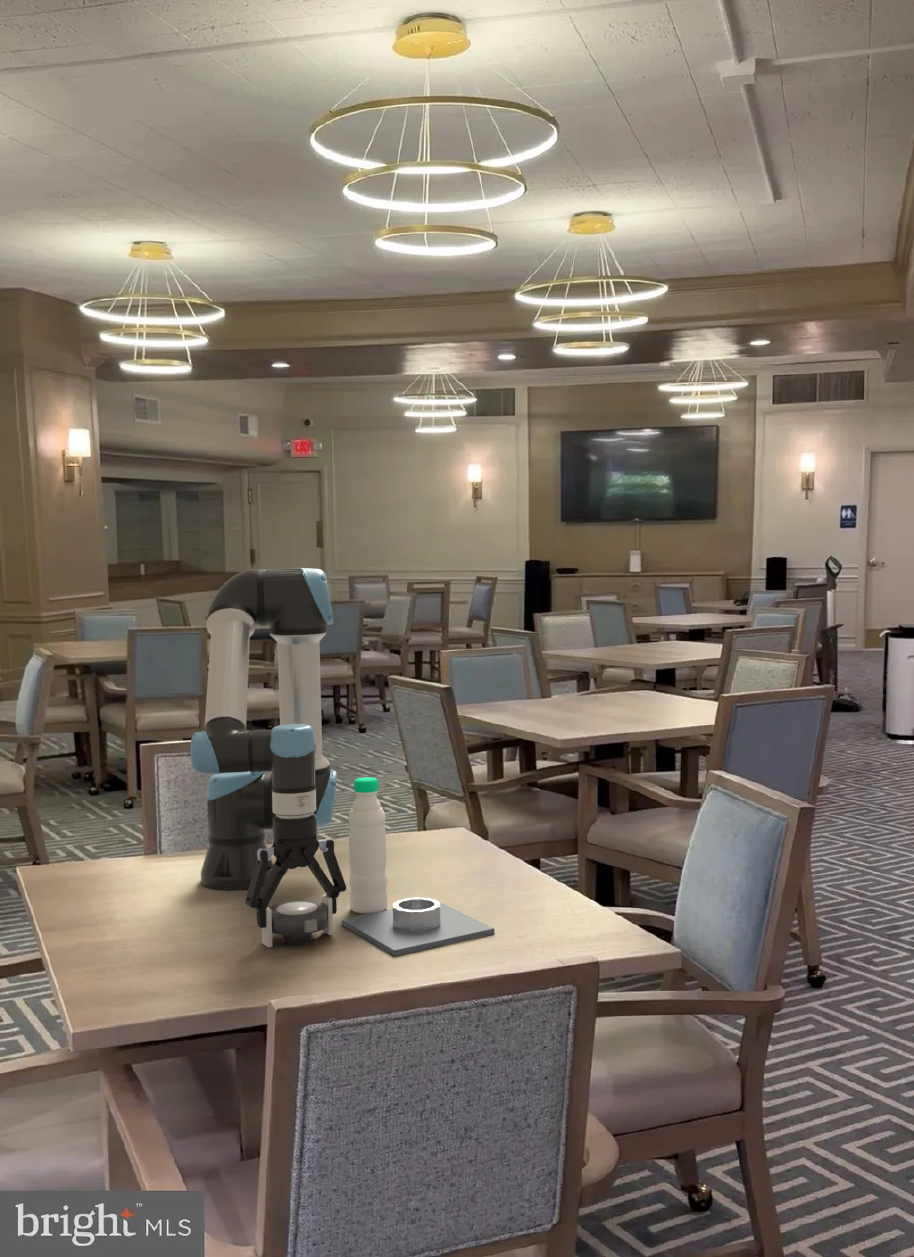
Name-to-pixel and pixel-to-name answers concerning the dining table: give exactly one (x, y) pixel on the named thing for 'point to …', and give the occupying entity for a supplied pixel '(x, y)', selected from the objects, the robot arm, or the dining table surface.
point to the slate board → (403, 942)
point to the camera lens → (298, 920)
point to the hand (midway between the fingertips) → (297, 938)
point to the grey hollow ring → (416, 914)
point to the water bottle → (367, 849)
